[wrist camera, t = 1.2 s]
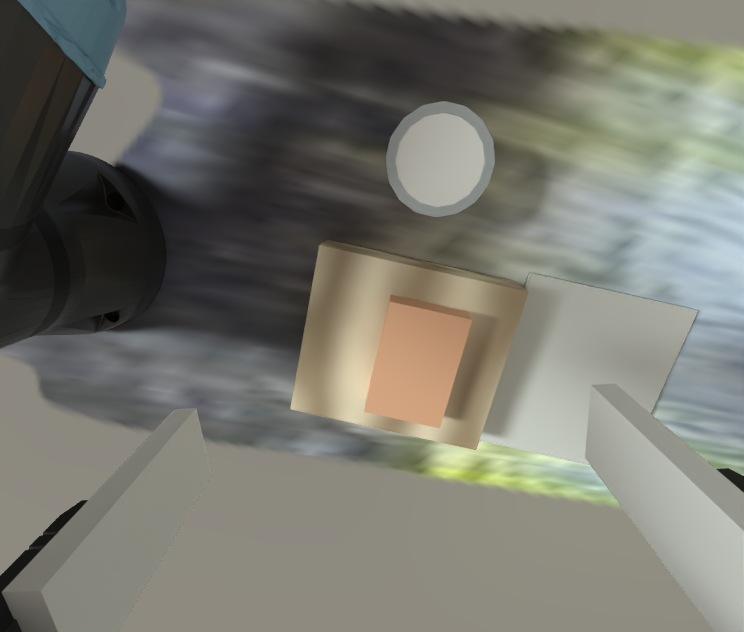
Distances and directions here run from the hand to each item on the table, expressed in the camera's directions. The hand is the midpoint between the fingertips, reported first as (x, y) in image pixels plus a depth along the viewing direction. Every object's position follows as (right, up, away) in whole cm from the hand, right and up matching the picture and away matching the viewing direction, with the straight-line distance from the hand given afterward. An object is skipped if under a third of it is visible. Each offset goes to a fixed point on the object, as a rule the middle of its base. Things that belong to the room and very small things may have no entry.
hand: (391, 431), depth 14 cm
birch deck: (+2, +2, +23) cm, 23 cm away
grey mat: (+18, -1, +23) cm, 29 cm away
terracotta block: (+3, +1, +19) cm, 19 cm away
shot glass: (+4, +16, +19) cm, 25 cm away
